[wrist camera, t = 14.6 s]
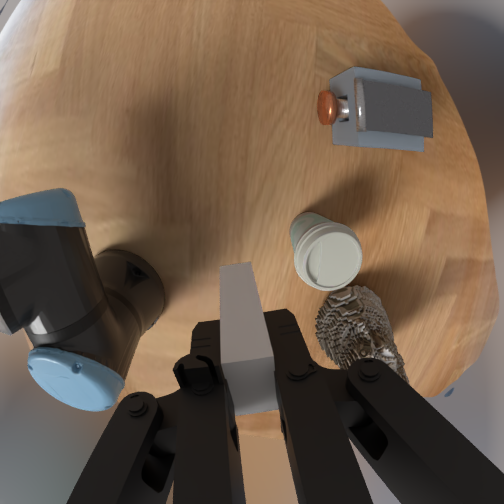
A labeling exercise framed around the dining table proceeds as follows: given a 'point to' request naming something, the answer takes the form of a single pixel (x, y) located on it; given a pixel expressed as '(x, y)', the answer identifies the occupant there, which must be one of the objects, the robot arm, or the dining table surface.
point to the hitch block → (346, 127)
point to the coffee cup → (324, 251)
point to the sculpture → (357, 329)
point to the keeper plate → (392, 109)
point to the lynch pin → (331, 108)
